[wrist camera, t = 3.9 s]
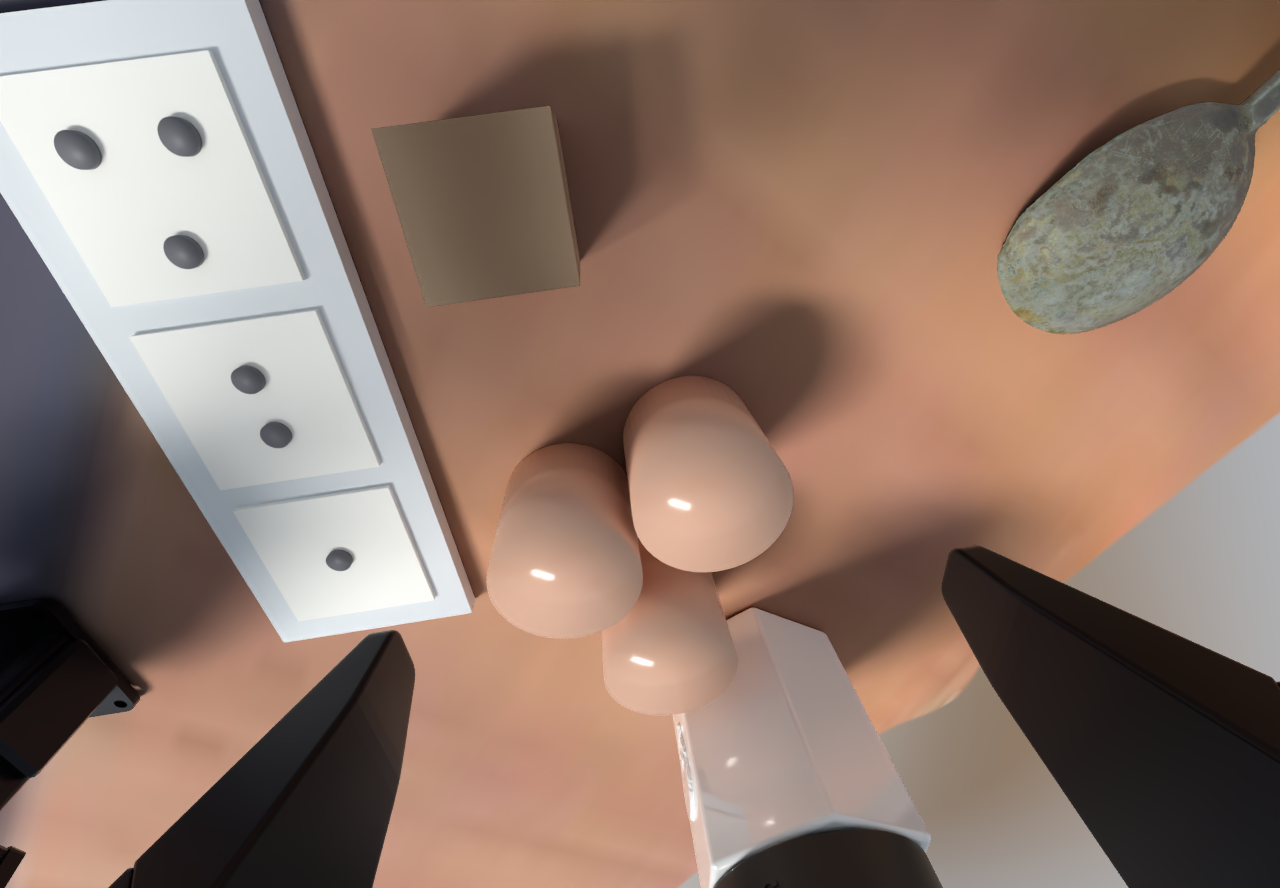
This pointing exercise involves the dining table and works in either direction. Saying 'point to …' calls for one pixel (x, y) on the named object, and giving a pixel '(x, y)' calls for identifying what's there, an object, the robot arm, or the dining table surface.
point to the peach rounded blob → (703, 477)
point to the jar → (795, 774)
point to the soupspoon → (1134, 216)
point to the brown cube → (483, 204)
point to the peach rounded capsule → (565, 544)
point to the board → (226, 299)
